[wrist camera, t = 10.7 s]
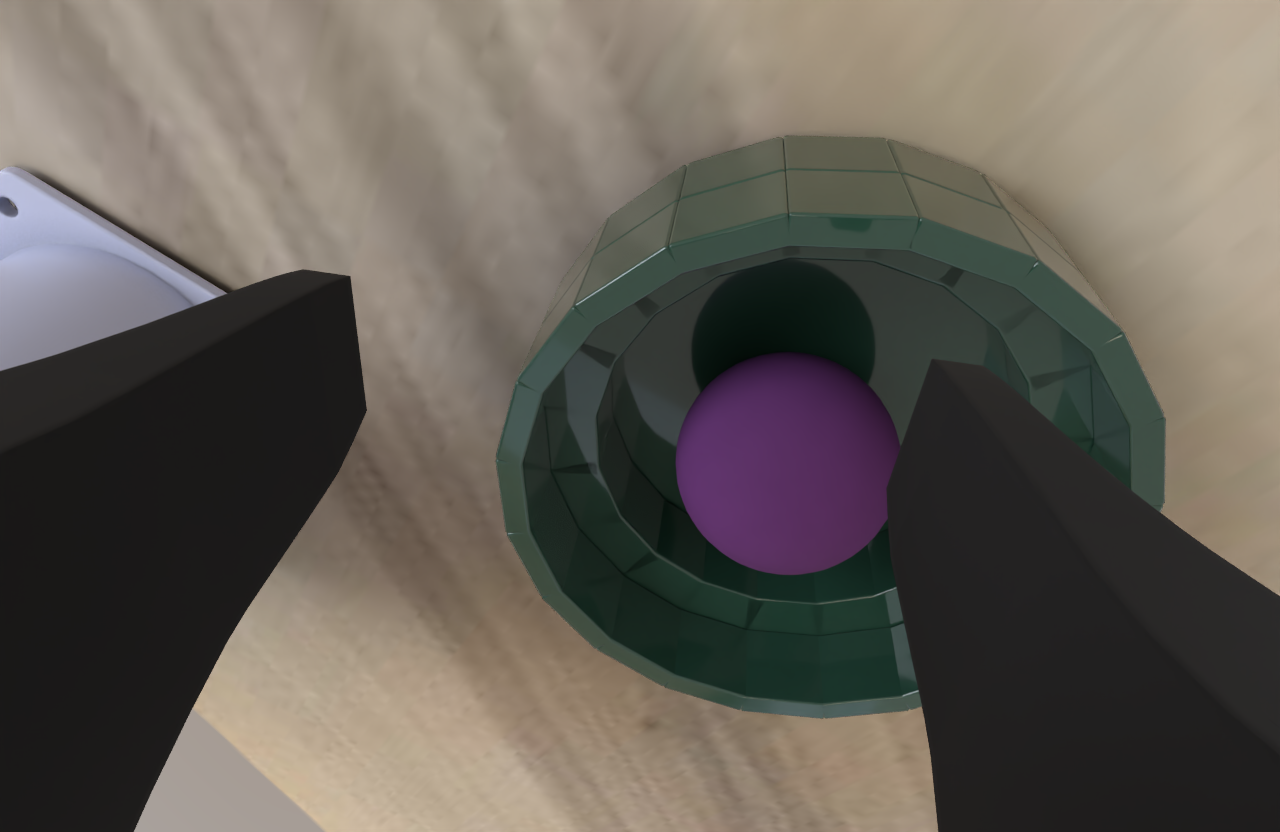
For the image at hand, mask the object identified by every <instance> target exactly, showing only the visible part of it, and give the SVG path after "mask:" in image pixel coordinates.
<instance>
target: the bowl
mask: <svg viewBox="0 0 1280 832" xmlns="http://www.w3.org/2000/svg"><path fill="white" fill-rule="evenodd" d="M776 352H799V353H806V354H812V355H816V356H819V357H823V358H826V359H828V360H831V361H833V362H836V363H838V364H840V365H842V366H843V367H845V368H847V369H849V370H850V371H851V372H853V373H854V374H856V375H857V376H858V377H860V378H861V379H862V380H863V381H864V382H865V383H866V384H867V385H868V386H870V387H871V388H872V389H873V391H874V392H875V393H876V394H877V395H878V397H879V398H880V399H881V401H882V403H883V404H884V406H885V407H886V409H887V411H888V412H889V414H890V416H891V418H892V421H893V423H894V425H895V428H896V432H897V435H898V439H899V443H900V448H901V445H902V442H903V439H904V437H905V434H906V431H907V428H908V425H909V422H910V420H911V417H912V414H913V411H914V408H915V405H916V402H917V400H918V397H919V394H920V391H921V388H922V385H923V383H924V380H925V377H926V374H927V371H928V368H929V365H930V363H931V360H932V359H939V360H946V361H953V362H960V363H967V364H974V365H981V366H984V367H986V368H987V369H989V370H990V371H991V372H993V373H994V374H996V375H997V376H998V377H999V378H1001V379H1002V380H1003V381H1004V382H1006V383H1007V384H1008V385H1009V386H1010V387H1012V388H1013V389H1014V390H1015V391H1016V392H1017V393H1019V394H1020V395H1021V396H1022V397H1023V398H1024V399H1026V400H1027V401H1028V402H1029V403H1030V404H1031V405H1032V406H1034V407H1035V408H1036V409H1037V410H1038V411H1039V412H1040V413H1041V414H1043V415H1044V416H1045V417H1046V418H1047V419H1048V420H1049V421H1051V422H1052V423H1053V424H1054V425H1055V426H1056V427H1057V428H1058V429H1060V430H1061V431H1062V432H1063V433H1064V434H1065V435H1066V436H1068V437H1069V438H1070V439H1071V440H1072V441H1073V442H1074V443H1076V444H1077V445H1078V446H1079V447H1080V448H1081V449H1083V450H1084V451H1085V452H1086V453H1087V454H1088V455H1090V456H1091V457H1092V458H1093V459H1094V460H1095V461H1097V462H1098V463H1099V464H1100V465H1101V466H1103V467H1104V468H1105V469H1106V470H1107V471H1108V472H1110V473H1111V474H1112V475H1113V476H1115V477H1116V478H1117V479H1118V480H1119V481H1121V482H1122V483H1123V484H1124V485H1126V486H1127V487H1128V488H1129V489H1130V490H1132V491H1133V492H1134V493H1135V494H1137V495H1138V496H1139V497H1141V498H1142V499H1143V500H1144V501H1146V502H1147V503H1148V504H1150V505H1151V506H1152V507H1154V508H1155V509H1156V510H1157V511H1159V512H1161V510H1162V508H1163V504H1164V503H1165V437H1166V419H1165V417H1164V412H1163V410H1162V408H1161V406H1160V404H1159V402H1158V400H1157V398H1156V396H1155V393H1154V391H1153V389H1152V387H1151V385H1150V383H1149V381H1148V379H1147V377H1146V375H1145V373H1144V371H1143V369H1142V366H1141V364H1140V362H1139V360H1138V358H1137V356H1136V354H1135V352H1134V350H1133V348H1132V346H1131V344H1130V341H1129V339H1128V337H1127V335H1126V333H1125V332H1124V330H1123V329H1122V328H1121V326H1120V325H1119V324H1118V322H1117V321H1116V320H1115V318H1114V317H1113V315H1112V314H1111V313H1110V311H1109V310H1108V309H1107V307H1106V306H1105V305H1104V303H1103V302H1102V301H1101V299H1100V298H1099V296H1098V295H1097V294H1096V292H1095V291H1094V290H1093V288H1092V287H1091V286H1090V284H1089V283H1088V282H1087V280H1086V279H1085V278H1084V276H1083V275H1082V274H1081V272H1080V271H1079V270H1078V268H1077V267H1076V265H1075V264H1074V263H1073V261H1072V260H1071V259H1070V257H1069V256H1068V255H1067V253H1066V252H1065V251H1064V249H1063V248H1062V247H1061V245H1060V244H1059V242H1058V241H1057V240H1056V238H1055V237H1054V236H1053V235H1052V233H1051V232H1050V231H1049V230H1048V229H1047V228H1046V227H1045V226H1044V225H1043V224H1041V223H1040V222H1039V221H1038V220H1037V219H1036V218H1034V217H1033V216H1032V215H1031V214H1030V213H1029V212H1027V211H1026V210H1025V209H1024V208H1023V207H1022V206H1020V205H1019V204H1018V203H1017V202H1016V201H1015V200H1013V199H1012V198H1011V197H1010V196H1009V195H1008V194H1006V193H1005V192H1004V191H1003V190H1002V189H1001V188H999V187H998V186H997V185H996V184H995V183H994V182H992V181H991V180H990V179H989V178H988V177H987V176H986V175H983V174H980V173H979V172H978V171H976V170H974V169H971V168H968V167H965V166H963V165H960V164H957V163H954V162H952V161H949V160H946V159H943V158H941V157H938V156H935V155H932V154H930V153H927V152H924V151H921V150H919V149H916V148H913V147H910V146H908V145H905V144H902V143H899V142H897V141H894V140H887V141H886V139H884V138H867V137H826V136H785V137H784V138H782V137H777V138H773V139H770V140H767V141H763V142H760V143H756V144H753V145H750V146H746V147H743V148H739V149H736V150H733V151H729V152H726V153H722V154H719V155H716V156H712V157H709V158H705V159H702V160H699V161H695V162H692V163H689V164H688V165H687V166H686V165H684V166H682V167H680V168H679V169H677V170H676V171H675V172H673V173H672V174H670V175H669V176H667V177H666V178H664V179H663V180H661V181H660V182H659V183H657V184H656V185H654V186H653V187H651V188H650V189H648V190H647V191H645V192H644V193H642V194H641V195H640V196H638V197H637V198H635V199H634V200H632V201H631V202H629V203H628V204H626V205H625V206H624V207H622V208H621V209H619V210H618V211H616V212H615V213H613V214H612V215H611V216H610V217H609V218H608V219H607V220H606V221H605V223H604V224H603V225H602V227H601V228H600V229H599V231H598V232H597V233H596V235H595V236H594V238H593V239H592V240H591V242H590V243H589V244H588V246H587V247H586V248H585V250H584V251H583V252H582V254H581V255H580V257H579V258H578V259H577V261H576V262H575V263H574V265H573V266H572V267H571V269H570V270H569V272H568V273H567V274H566V276H565V277H564V278H563V280H562V281H561V283H560V285H559V287H558V289H557V292H556V294H555V296H554V298H553V300H552V303H551V305H550V307H549V309H548V311H547V314H546V316H545V318H544V320H543V322H542V325H541V327H540V330H539V331H538V334H537V336H536V338H535V340H534V342H533V345H532V347H531V349H530V351H529V353H528V356H527V358H526V360H525V362H524V364H523V366H522V369H521V371H520V373H519V375H518V377H517V380H516V382H515V385H514V389H513V393H512V397H511V400H510V404H509V408H508V412H507V415H506V419H505V423H504V427H503V430H502V434H501V438H500V442H499V446H498V449H497V453H496V467H497V474H498V481H499V488H500V496H501V503H502V510H503V517H504V524H505V530H506V532H507V536H508V538H509V540H510V542H511V543H512V545H513V547H514V549H515V551H516V553H517V554H518V556H519V558H520V560H521V562H522V563H523V565H524V567H525V569H526V571H527V572H528V574H529V576H530V578H531V580H532V581H533V583H534V585H535V587H536V589H537V591H538V592H539V594H540V596H542V599H543V600H544V601H545V602H546V603H547V604H548V605H549V606H550V607H551V608H552V609H553V610H554V611H556V612H557V613H558V614H559V615H560V616H561V617H562V618H563V619H564V620H565V621H566V622H567V623H568V624H569V625H570V626H571V627H572V628H573V629H574V630H576V631H577V632H578V633H579V634H580V635H581V636H582V637H583V638H584V639H585V640H586V641H587V642H588V643H589V644H590V645H591V646H592V647H593V648H595V649H597V650H598V651H600V652H602V653H603V654H605V655H607V656H609V657H611V658H612V659H614V660H616V661H618V662H619V663H621V664H623V665H625V666H627V667H628V668H630V669H632V670H634V671H636V672H637V673H639V674H641V675H643V676H645V677H646V678H648V679H650V680H652V681H654V682H655V683H657V684H659V685H661V686H664V687H665V688H668V689H671V690H674V691H677V692H681V693H684V694H687V695H691V696H694V697H697V698H701V699H704V700H707V701H711V702H714V703H717V704H721V705H724V706H727V707H731V708H734V709H737V710H742V711H748V712H759V713H769V714H779V715H790V716H800V717H810V718H820V719H823V718H826V719H827V718H837V717H848V716H859V715H869V714H880V713H890V712H901V711H908V710H909V709H910V710H912V709H916V708H919V707H922V704H921V699H920V695H919V690H918V686H917V681H916V676H915V672H914V667H913V662H912V658H911V653H910V648H909V644H908V639H907V634H906V630H905V625H904V621H903V616H902V611H901V606H900V602H899V597H898V592H897V587H896V582H895V577H894V572H893V567H892V562H891V556H890V543H889V530H888V519H887V520H886V522H885V523H884V525H883V526H882V527H881V529H880V530H879V532H878V533H877V534H876V536H875V537H874V538H873V539H872V540H871V541H870V542H869V543H868V544H867V545H866V546H865V547H864V548H862V549H861V550H860V551H859V552H857V553H856V554H855V555H853V556H852V557H850V558H848V559H847V560H845V561H843V562H841V563H839V564H837V565H835V566H833V567H830V568H828V569H825V570H821V571H817V572H812V573H806V574H799V575H779V574H772V573H766V572H762V571H758V570H755V569H752V568H749V567H747V566H744V565H742V564H740V563H738V562H736V561H734V560H732V559H731V558H729V557H727V556H726V555H725V554H723V553H722V552H720V551H719V550H718V549H717V548H716V547H715V546H713V545H712V544H711V543H710V542H709V541H708V540H707V539H706V538H705V537H704V536H703V535H702V534H701V532H700V531H699V530H698V528H697V527H696V525H695V524H694V522H693V521H692V519H691V517H690V516H689V514H688V512H687V510H686V508H685V505H684V503H683V500H682V497H681V495H680V491H679V487H678V483H677V474H676V450H677V442H678V438H679V434H680V430H681V427H682V424H683V422H684V419H685V417H686V415H687V413H688V411H689V409H690V408H691V406H692V404H693V403H694V401H695V400H696V398H697V397H698V395H699V394H700V393H701V392H702V391H703V390H704V389H705V387H706V386H707V385H708V384H709V383H710V382H711V381H712V380H714V379H715V378H716V377H717V376H718V375H720V374H721V373H723V372H724V371H726V370H727V369H729V368H731V367H732V366H734V365H735V364H738V363H740V362H742V361H744V360H747V359H750V358H753V357H756V356H760V355H764V354H770V353H776Z"/></svg>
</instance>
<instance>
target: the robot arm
mask: <svg viewBox="0 0 1280 832" xmlns="http://www.w3.org/2000/svg"><path fill="white" fill-rule="evenodd" d="M9 199H10V200H11V201H12V202H13V203H15V205H16V207H17V208H18V210H17V209H16V208H15V207H13V206H12V204H11V203H10V201H9ZM366 411H367V409H366V401H365V392H364V384H363V376H362V368H361V360H360V352H359V344H358V336H357V327H356V319H355V311H354V303H353V295H352V287H351V279H350V276H346V275H338V274H331V273H324V272H317V271H310V270H298V271H294V272H290V273H286V274H282V275H279V276H276V277H272V278H269V279H266V280H263V281H260V282H258V283H255V284H252V285H249V286H246V287H244V288H241V289H238V290H235V291H233V292H230V293H226V292H224V291H223V290H221V289H219V288H218V287H216V286H214V285H213V284H211V283H209V282H208V281H206V280H205V279H203V278H201V277H200V276H198V275H196V274H195V273H193V272H191V271H190V270H188V269H186V268H185V267H183V266H181V265H180V264H178V263H176V262H175V261H173V260H172V259H170V258H168V257H167V256H165V255H163V254H162V253H160V252H158V251H157V250H155V249H153V248H152V247H150V246H148V245H147V244H145V243H144V242H142V241H140V240H139V239H137V238H135V237H134V236H132V235H130V234H129V233H127V232H125V231H124V230H122V229H120V228H119V227H117V226H116V225H114V224H112V223H111V222H109V221H107V220H106V219H104V218H102V217H101V216H99V215H97V214H96V213H94V212H92V211H91V210H89V209H88V208H86V207H84V206H83V205H81V204H79V203H78V202H76V201H74V200H73V199H71V198H69V197H68V196H66V195H64V194H63V193H61V192H60V191H58V190H56V189H55V188H53V187H51V186H50V185H48V184H46V183H45V182H43V181H41V180H40V179H38V178H36V177H35V176H33V175H32V174H30V173H28V172H27V171H25V170H23V169H20V168H18V167H10V166H9V167H7V168H5V169H2V170H0V832H134V830H135V828H136V825H137V823H138V821H139V819H140V816H141V814H142V812H143V810H144V807H145V805H146V803H147V801H148V799H149V796H150V794H151V792H152V790H153V788H154V786H155V784H156V782H157V780H158V777H159V775H160V773H161V771H162V769H163V767H164V765H165V763H166V761H167V759H168V757H169V755H170V753H171V751H172V749H173V746H174V745H175V743H176V740H177V738H178V736H179V734H180V732H181V730H182V728H183V726H184V723H185V722H186V720H187V718H188V716H189V714H190V712H191V710H192V708H193V706H194V704H195V702H196V700H197V698H198V696H199V695H200V693H201V691H202V689H203V687H204V685H205V683H206V681H207V679H208V677H209V675H210V674H211V672H212V670H213V668H214V666H215V664H216V662H217V660H218V658H219V656H220V654H221V653H222V651H223V649H224V647H225V645H226V643H227V641H228V639H229V638H230V636H231V635H232V633H233V631H234V630H235V628H236V626H237V625H238V623H239V621H240V620H241V618H242V616H243V615H244V613H245V612H246V610H247V608H248V607H249V605H250V604H251V602H252V601H253V599H254V598H255V596H256V595H257V594H258V592H259V591H260V589H261V588H262V586H263V585H264V583H265V582H266V580H267V579H268V577H269V576H270V574H271V573H272V571H273V570H274V568H275V567H276V565H277V564H278V562H279V561H280V559H281V558H282V556H283V555H284V554H285V552H286V551H287V549H288V548H289V546H290V545H291V543H292V542H293V540H294V539H295V537H296V536H297V534H298V533H299V531H300V530H301V528H302V527H303V525H304V524H305V522H306V521H307V519H308V518H309V516H310V515H311V513H312V512H313V510H314V509H315V507H316V506H317V504H318V503H319V501H320V500H321V498H322V497H323V495H324V494H325V492H326V491H327V489H328V488H329V486H330V484H331V483H332V481H333V480H334V478H335V477H336V475H337V473H338V472H339V470H340V468H341V466H342V464H343V461H344V459H345V457H346V455H347V453H348V451H349V449H350V447H351V445H352V443H353V441H354V438H355V436H356V434H357V432H358V429H359V427H360V425H361V423H362V420H363V418H364V416H365V414H366ZM886 491H887V512H888V530H889V543H890V556H891V562H892V567H893V572H894V577H895V582H896V587H897V592H898V597H899V602H900V606H901V611H902V616H903V621H904V625H905V630H906V634H907V639H908V644H909V648H910V653H911V658H912V662H913V667H914V672H915V676H916V681H917V686H918V690H919V695H920V699H921V704H922V709H923V713H924V718H925V724H926V730H927V736H928V742H929V748H930V754H931V763H932V773H933V783H934V792H935V802H936V812H937V822H938V832H1280V596H1279V595H1277V594H1275V593H1274V592H1272V591H1271V590H1269V589H1268V588H1266V587H1265V586H1263V585H1262V584H1260V583H1259V582H1257V581H1256V580H1254V579H1253V578H1251V577H1250V576H1248V575H1247V574H1245V573H1244V572H1242V571H1241V570H1239V569H1238V568H1237V567H1235V566H1234V565H1232V564H1231V563H1229V562H1228V561H1226V560H1225V559H1223V558H1222V557H1220V556H1219V555H1217V554H1216V553H1214V552H1213V551H1211V550H1210V549H1208V548H1207V547H1206V546H1204V545H1203V544H1201V543H1200V542H1199V541H1197V540H1196V539H1194V538H1193V537H1192V536H1190V535H1189V534H1187V533H1186V532H1185V531H1183V530H1182V529H1181V528H1179V527H1178V526H1177V525H1175V524H1174V523H1173V522H1172V521H1170V520H1169V519H1168V518H1166V517H1165V516H1164V515H1163V514H1161V513H1160V512H1159V511H1157V510H1156V509H1155V508H1154V507H1152V506H1151V505H1150V504H1148V503H1147V502H1146V501H1144V500H1143V499H1142V498H1141V497H1139V496H1138V495H1137V494H1135V493H1134V492H1133V491H1132V490H1130V489H1129V488H1128V487H1127V486H1126V485H1124V484H1123V483H1122V482H1121V481H1119V480H1118V479H1117V478H1116V477H1115V476H1113V475H1112V474H1111V473H1110V472H1108V471H1107V470H1106V469H1105V468H1104V467H1103V466H1101V465H1100V464H1099V463H1098V462H1097V461H1095V460H1094V459H1093V458H1092V457H1091V456H1090V455H1088V454H1087V453H1086V452H1085V451H1084V450H1083V449H1081V448H1080V447H1079V446H1078V445H1077V444H1076V443H1074V442H1073V441H1072V440H1071V439H1070V438H1069V437H1068V436H1066V435H1065V434H1064V433H1063V432H1062V431H1061V430H1060V429H1058V428H1057V427H1056V426H1055V425H1054V424H1053V423H1052V422H1051V421H1049V420H1048V419H1047V418H1046V417H1045V416H1044V415H1043V414H1041V413H1040V412H1039V411H1038V410H1037V409H1036V408H1035V407H1034V406H1032V405H1031V404H1030V403H1029V402H1028V401H1027V400H1026V399H1024V398H1023V397H1022V396H1021V395H1020V394H1019V393H1017V392H1016V391H1015V390H1014V389H1013V388H1012V387H1010V386H1009V385H1008V384H1007V383H1006V382H1004V381H1003V380H1002V379H1001V378H999V377H998V376H997V375H996V374H994V373H993V372H991V371H990V370H989V369H987V368H986V367H984V366H981V365H974V364H967V363H960V362H953V361H946V360H939V359H932V360H931V363H930V365H929V368H928V371H927V374H926V377H925V380H924V383H923V385H922V388H921V391H920V394H919V397H918V400H917V402H916V405H915V408H914V411H913V414H912V417H911V420H910V422H909V425H908V428H907V431H906V434H905V437H904V439H903V442H902V445H901V448H900V451H899V454H898V456H897V459H896V462H895V465H894V468H893V471H892V474H891V476H890V479H889V482H888V485H887V488H886Z"/></svg>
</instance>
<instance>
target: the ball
mask: <svg viewBox="0 0 1280 832" xmlns="http://www.w3.org/2000/svg"><path fill="white" fill-rule="evenodd" d="M899 451H900V443H899V439H898V435H897V432H896V428H895V425H894V423H893V421H892V418H891V416H890V414H889V412H888V411H887V409H886V407H885V406H884V404H883V403H882V401H881V399H880V398H879V397H878V395H877V394H876V393H875V392H874V391H873V389H872V388H871V387H870V386H868V385H867V384H866V383H865V382H864V381H863V380H862V379H861V378H860V377H858V376H857V375H856V374H854V373H853V372H851V371H850V370H849V369H847V368H845V367H843V366H842V365H840V364H838V363H836V362H833V361H831V360H828V359H826V358H823V357H819V356H816V355H812V354H806V353H799V352H776V353H770V354H764V355H760V356H756V357H753V358H750V359H747V360H744V361H742V362H740V363H738V364H735V365H734V366H732V367H731V368H729V369H727V370H726V371H724V372H723V373H721V374H720V375H718V376H717V377H716V378H715V379H714V380H712V381H711V382H710V383H709V384H708V385H707V386H706V387H705V389H704V390H703V391H702V392H701V393H700V394H699V395H698V397H697V398H696V400H695V401H694V403H693V404H692V406H691V408H690V409H689V411H688V413H687V415H686V417H685V419H684V422H683V424H682V427H681V430H680V434H679V438H678V442H677V450H676V474H677V483H678V487H679V491H680V495H681V497H682V500H683V503H684V505H685V508H686V510H687V512H688V514H689V516H690V517H691V519H692V521H693V522H694V524H695V525H696V527H697V528H698V530H699V531H700V532H701V534H702V535H703V536H704V537H705V538H706V539H707V540H708V541H709V542H710V543H711V544H712V545H713V546H715V547H716V548H717V549H718V550H719V551H720V552H722V553H723V554H725V555H726V556H727V557H729V558H731V559H732V560H734V561H736V562H738V563H740V564H742V565H744V566H747V567H749V568H752V569H755V570H758V571H762V572H766V573H772V574H779V575H799V574H806V573H812V572H817V571H821V570H825V569H828V568H830V567H833V566H835V565H837V564H839V563H841V562H843V561H845V560H847V559H848V558H850V557H852V556H853V555H855V554H856V553H857V552H859V551H860V550H861V549H862V548H864V547H865V546H866V545H867V544H868V543H869V542H870V541H871V540H872V539H873V538H874V537H875V536H876V534H877V533H878V532H879V530H880V529H881V527H882V526H883V525H884V523H885V522H886V520H887V519H888V512H887V491H886V488H887V485H888V482H889V479H890V476H891V474H892V471H893V468H894V465H895V462H896V459H897V456H898V454H899Z"/></svg>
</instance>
